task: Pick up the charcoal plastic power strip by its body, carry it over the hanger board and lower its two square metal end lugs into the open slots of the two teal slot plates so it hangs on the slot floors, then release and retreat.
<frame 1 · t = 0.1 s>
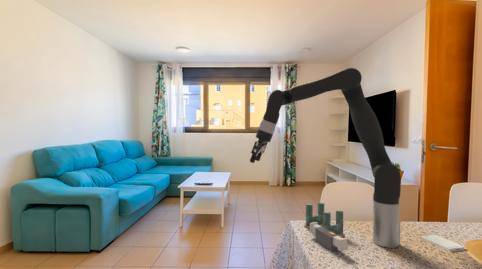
hand: (254, 161, 124), 31 cm above the table, tool tilted 20°, fingers open, 8 cm apart
hard drive: (442, 245, 104), on the table
power strip: (327, 245, 103), on the table
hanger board: (323, 231, 117), on the table
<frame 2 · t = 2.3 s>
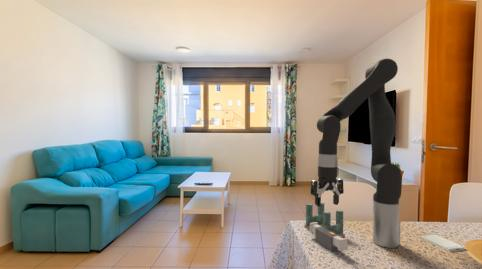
hand: (327, 205, 103), 16 cm above the table, tool pointing down, fingers open, 8 cm apart
nothing on the table moved.
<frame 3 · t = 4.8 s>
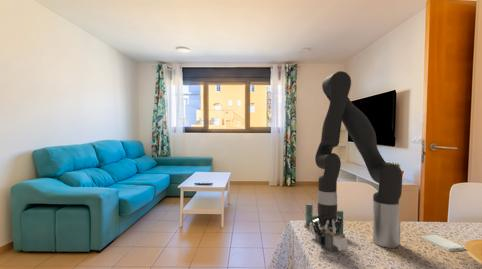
hand: (327, 243, 103), 1 cm above the table, tool pointing down, fingers closed on power strip, 4 cm apart
power strip: (326, 245, 103), on the table, touching gripper
everything else where it was.
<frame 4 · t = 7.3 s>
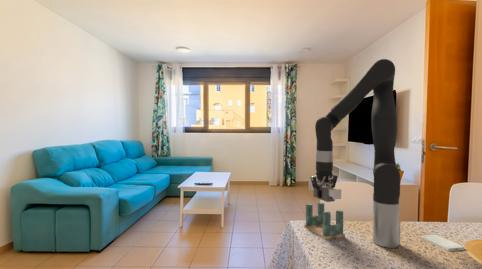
hand: (323, 197, 117), 16 cm above the table, tool pointing down, fingers closed on power strip, 4 cm apart
power strip: (323, 198, 117), point 15 cm above the table, touching gripper
everything else where it was.
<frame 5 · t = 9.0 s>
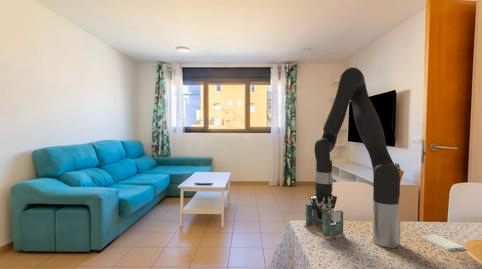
hand: (323, 218, 117), 6 cm above the table, tool pointing down, fingers closed on power strip, 4 cm apart
power strip: (323, 219, 117), point 5 cm above the table, touching gripper
everything else where it was.
when the fingers open (4 cm above the table, at t = 10.3 s): power strip stays where it is, resting on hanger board.
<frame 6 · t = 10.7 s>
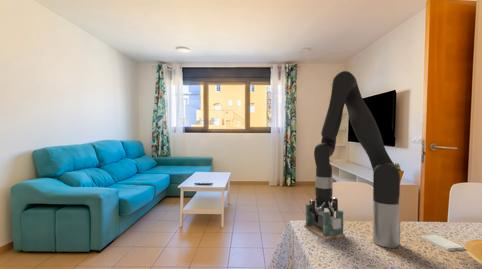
hand: (323, 221, 117), 5 cm above the table, tool pointing down, fingers open, 8 cm apart
power strip: (323, 226, 117), point 2 cm above the table, touching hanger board
everything else where it was.
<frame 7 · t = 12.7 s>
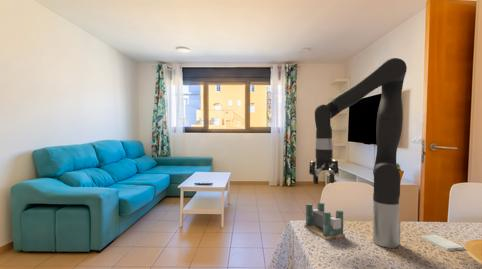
hand: (323, 183, 117), 22 cm above the table, tool pointing down, fingers open, 8 cm apart
nothing on the table moved.
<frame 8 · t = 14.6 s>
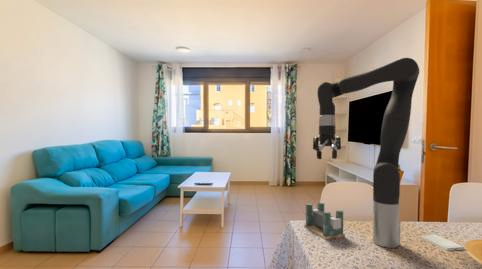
hand: (326, 158, 121), 33 cm above the table, tool pointing down, fingers open, 8 cm apart
nothing on the table moved.
at the end: power strip 0.0 cm off-centre on the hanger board, point 2.4 cm above the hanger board's base; power strip tilted 0°; the gripper is holding nothing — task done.
